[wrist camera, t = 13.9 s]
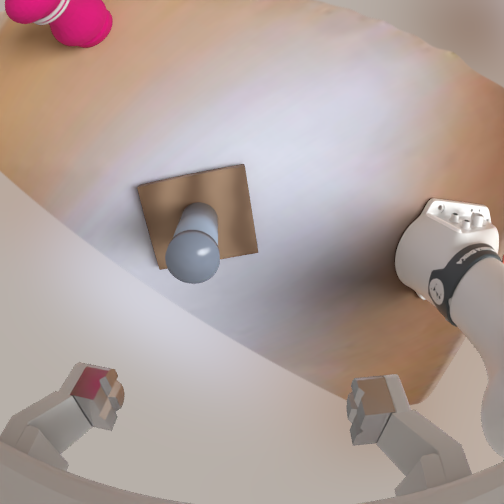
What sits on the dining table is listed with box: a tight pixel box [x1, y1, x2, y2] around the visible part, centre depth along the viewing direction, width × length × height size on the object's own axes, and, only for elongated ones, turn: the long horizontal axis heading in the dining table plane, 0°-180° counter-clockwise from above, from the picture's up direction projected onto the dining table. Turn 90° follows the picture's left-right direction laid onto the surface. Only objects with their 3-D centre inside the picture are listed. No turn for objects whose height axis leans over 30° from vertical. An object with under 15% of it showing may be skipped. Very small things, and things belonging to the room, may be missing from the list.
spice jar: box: [165, 202, 220, 284], centre depth 36 cm, size 5×5×11 cm
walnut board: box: [137, 164, 258, 270], centre depth 42 cm, size 14×12×2 cm
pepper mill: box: [5, 0, 112, 48], centre depth 20 cm, size 7×7×20 cm
